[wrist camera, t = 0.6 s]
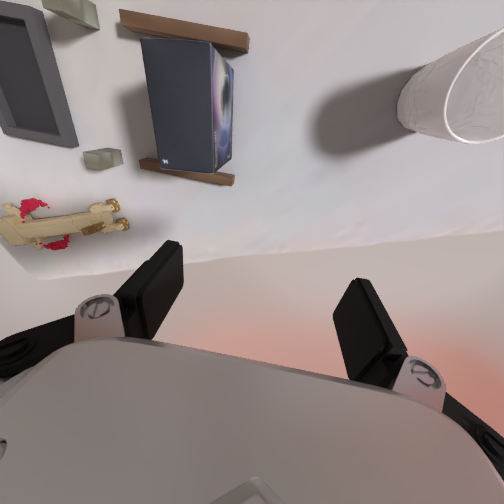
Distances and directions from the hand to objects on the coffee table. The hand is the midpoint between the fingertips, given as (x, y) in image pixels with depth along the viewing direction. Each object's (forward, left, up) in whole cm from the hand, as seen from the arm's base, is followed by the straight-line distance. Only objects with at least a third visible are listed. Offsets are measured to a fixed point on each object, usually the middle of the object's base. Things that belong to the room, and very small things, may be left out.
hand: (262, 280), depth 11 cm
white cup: (-12, +16, -24) cm, 32 cm away
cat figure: (+15, -37, -25) cm, 47 cm away
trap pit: (-6, -36, -24) cm, 44 cm away
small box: (-6, -10, -24) cm, 27 cm away
